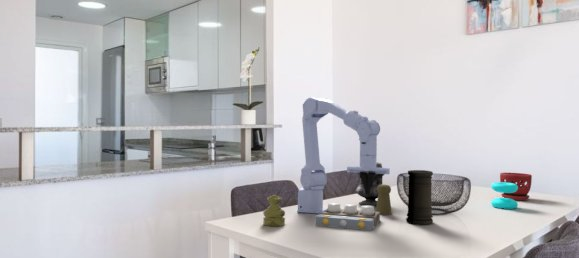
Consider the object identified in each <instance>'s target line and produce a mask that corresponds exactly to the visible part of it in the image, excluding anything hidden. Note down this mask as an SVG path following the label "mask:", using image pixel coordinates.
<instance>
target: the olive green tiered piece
mask: <svg viewBox="0 0 579 258" xmlns="http://www.w3.org/2000/svg"><path fill="white" fill-rule="evenodd" d="M266 199H267V201H268V202H269V204H270V205H269V206H268V207H267V208H266V209H265V210H263V212H262V213H263V214H262V215H263V216H264V217H263V219H262V220H263V225H264V226H266V227H275V228H276V227H282V226H284V225H285V224H286V218H285V215H286V211H285V210H283V209H282V207H281V206H279V203H280V202H281V201H282V199H283V198H282V197H281V196H279V195H277V194H271V195H270V196H268V197H266Z"/></svg>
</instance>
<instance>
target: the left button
mask: <svg viewBox="0 0 579 258" xmlns="http://www.w3.org/2000/svg"><path fill="white" fill-rule="evenodd" d="M327 208H328V212H332V213H340V209H341V203H338V202H330V203H327Z"/></svg>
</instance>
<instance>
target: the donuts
mask: <svg viewBox="0 0 579 258" xmlns="http://www.w3.org/2000/svg"><path fill="white" fill-rule="evenodd" d="M505 182H506V181H505ZM505 182H500V181H498V182H492V183H491V185H490V186H491V189H492V190H493V191H494V192H495V193H496V192H497V193H501V194H502V193H513V192H516V191H517V190H518V186H517V185H516V184H517V183H516V184H513V183H505ZM490 204H491V206H492V207H494V208H496V207H497V208H496V209H500V208H504V209H503V210H514V209H516V208H518V206H519V205H518V201H516V200H513V199H509V198H503V197H496V198H493V199H492V200H491V202H490Z"/></svg>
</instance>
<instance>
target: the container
mask: <svg viewBox="0 0 579 258" xmlns="http://www.w3.org/2000/svg"><path fill="white" fill-rule="evenodd" d="M407 174H408V183H407V184H408V192H407V193H408V194H407V195H408V196H407V197H408V199H407V200H408V201H407V214H406V216H407V217H406V218H405V220H406V223H407V224H411V225H416V226H429V225H433V223H434V220H433V217H434V216H433V214H432V213H433V212H432V211H433V210H432V209H433V207H432V185H433V184H432V183H433V182H432V179H433V177H432V176H433V174H434V173H433V171H431V170H425V169H424V170H422V169H412V170H411V169H410V170H408V171H407Z"/></svg>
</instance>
